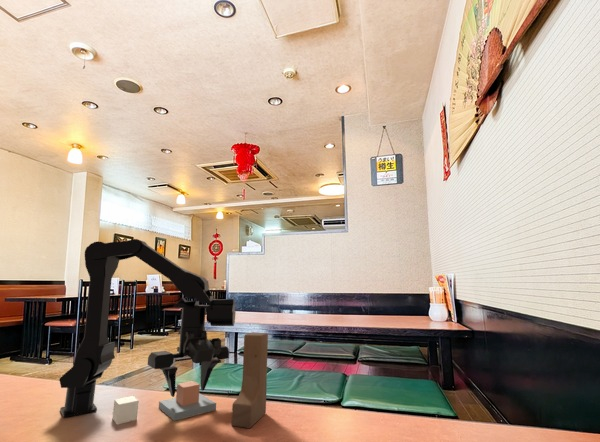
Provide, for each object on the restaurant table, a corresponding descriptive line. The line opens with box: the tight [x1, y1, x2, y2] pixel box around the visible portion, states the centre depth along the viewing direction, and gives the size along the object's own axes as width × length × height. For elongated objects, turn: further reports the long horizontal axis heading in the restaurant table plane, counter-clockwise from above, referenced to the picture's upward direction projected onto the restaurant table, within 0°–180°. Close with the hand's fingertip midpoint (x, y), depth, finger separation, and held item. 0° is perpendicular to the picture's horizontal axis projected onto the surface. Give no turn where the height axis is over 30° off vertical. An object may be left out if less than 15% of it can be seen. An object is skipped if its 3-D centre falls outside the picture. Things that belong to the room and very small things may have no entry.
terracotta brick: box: [175, 380, 201, 406], centre depth 80 cm, size 4×4×4 cm
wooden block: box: [231, 331, 269, 429], centre depth 75 cm, size 9×4×18 cm, turn 164°
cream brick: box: [112, 395, 140, 425], centre depth 73 cm, size 4×4×4 cm
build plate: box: [158, 392, 217, 422], centre depth 79 cm, size 10×10×2 cm
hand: (188, 393), depth 79 cm, fingers open, 7 cm apart
